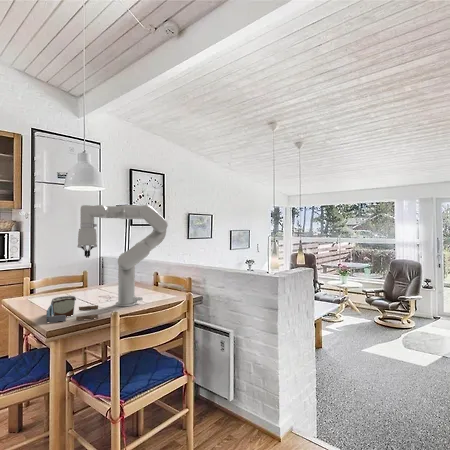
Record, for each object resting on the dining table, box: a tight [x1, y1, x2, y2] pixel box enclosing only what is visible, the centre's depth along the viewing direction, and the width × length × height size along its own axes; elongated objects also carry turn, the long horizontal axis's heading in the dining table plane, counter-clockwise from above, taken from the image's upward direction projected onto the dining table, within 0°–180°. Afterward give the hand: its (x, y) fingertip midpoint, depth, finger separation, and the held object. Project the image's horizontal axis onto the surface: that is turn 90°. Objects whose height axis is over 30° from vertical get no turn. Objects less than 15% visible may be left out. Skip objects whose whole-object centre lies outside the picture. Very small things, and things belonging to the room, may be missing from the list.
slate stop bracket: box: [46, 303, 67, 323], centre depth 169 cm, size 8×20×6 cm, turn 21°
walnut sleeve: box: [75, 304, 99, 321], centre depth 174 cm, size 10×22×2 cm, turn 21°
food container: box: [50, 295, 77, 318], centre depth 170 cm, size 12×6×10 cm, turn 141°
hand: (87, 257), depth 190 cm, fingers closed
